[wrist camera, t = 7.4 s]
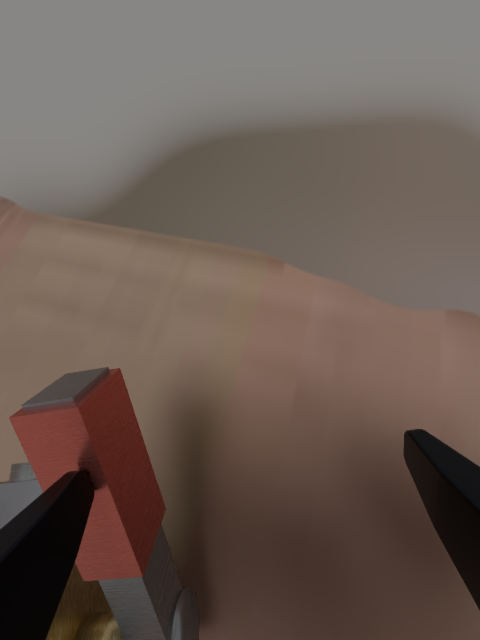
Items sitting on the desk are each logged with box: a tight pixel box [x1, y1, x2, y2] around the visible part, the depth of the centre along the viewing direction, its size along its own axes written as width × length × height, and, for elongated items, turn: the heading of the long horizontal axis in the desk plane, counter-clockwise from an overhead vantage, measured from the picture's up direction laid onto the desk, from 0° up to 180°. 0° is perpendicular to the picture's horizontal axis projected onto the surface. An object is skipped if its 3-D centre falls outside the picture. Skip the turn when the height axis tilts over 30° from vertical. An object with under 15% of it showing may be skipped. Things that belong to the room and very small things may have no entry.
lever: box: [9, 367, 199, 640], centre depth 11 cm, size 3×2×14 cm
